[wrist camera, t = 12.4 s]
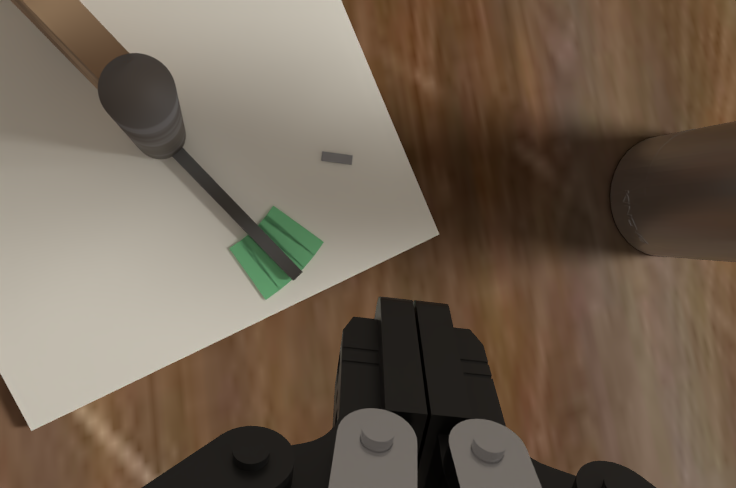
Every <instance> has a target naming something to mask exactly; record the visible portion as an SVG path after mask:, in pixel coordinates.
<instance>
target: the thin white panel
mask: <svg viewBox="0 0 736 488" xmlns="http://www.w3.org/2000/svg"><path fill="white" fill-rule="evenodd" d="M79 1H80V2H81V3H82V4H83V5H84V6H85V7H86V8H87V9H88V10H89V11H90V12H91V13H92V14H93V15H94V16H95V18H96V19H97V20H98V21H99V22H100V23H101V24H102V25H103V26H104V27H105V28H106V29H107V30H108V31H109V32H110V33H111V34H112V35H113V36H114V37H115V39H116V40H117V41H118V42H119V43H120V44H121V45H122V46H123V47H124V48H125V49H126V50H127V51H128V52H129V53H141V54H146V55H149V56H151V57H154V58H155V59H157V60H159V61H160V62H161V63H163V64H164V65H165V66H166V67H167V69H168V70H169V71H170V73H171V74H172V77H173V79H174V82H175V85H176V90H177V94H178V99H179V104H180V108H181V113H182V117H183V122H184V127H185V132H186V139H185V143H184V146H183V148H184V149H185V151H186V152H187V153H188V154H189V155H190V156H191V157H192V158H193V159H194V160H195V161H196V162H197V163H198V164H199V165H200V166H201V167H202V168H203V169H204V170H205V171H206V172H207V173H208V174H209V175H210V176H211V177H212V178H213V180H214V181H215V182H216V183H217V184H218V185H219V186H220V187H221V188H222V189H223V190H224V191H225V192H226V193H227V194H228V195H229V196H230V197H231V198H232V199H233V200H234V201H235V202H236V203H237V204H238V205H239V206H240V208H241V209H242V210H243V211H244V212H245V213H246V214H247V215H248V216H249V217H250V218H251V219H252V220H253V221H254V222H255V223H256V224H257V225H258V226H259V227H260V228H261V229H262V230H263V231H264V232H265V233H266V234H267V235H268V237H269V238H270V239H271V240H272V241H273V242H274V243H275V244H276V245H277V246H278V247H279V248H280V249H281V250H282V251H283V252H284V253H285V254H286V255H287V256H288V257H289V258H290V259H291V260H292V261H293V262H294V263H295V264H296V266H297V267H298V268H299V269H300V270H301V271H302V273H301V274H300V275H299V276H298V277H297V278H296V279H295V280H294V281H293V280H292V279H291V278H290V277H289V276H288V275H287V274H286V273H285V272H284V271H283V270H282V269H281V268H280V267H279V266H278V265H277V264H276V263H275V262H274V261H273V260H272V259H271V258H270V256H269V255H268V254H267V253H266V252H265V251H264V250H263V249H262V248H261V247H260V246H259V245H258V244H257V243H256V242H255V241H254V240H253V239H252V238H251V237H250V236H249V235H248V234H247V233H246V232H245V231H244V230H243V229H242V228H241V227H240V226H239V225H238V224H237V223H236V222H235V221H234V219H233V218H232V217H231V216H230V215H229V214H228V213H227V212H226V211H225V210H224V209H223V208H222V207H221V206H220V205H219V204H218V203H217V202H216V201H215V200H214V199H213V198H212V197H211V196H210V195H209V194H208V193H207V192H206V191H205V190H204V189H203V188H202V187H201V186H200V185H199V184H198V182H197V181H196V180H195V179H194V178H193V177H192V176H191V175H190V174H189V173H188V172H187V171H186V170H185V169H184V168H183V167H182V166H181V165H180V164H179V163H178V162H177V161H176V160H175V159H174V158H173V157H170V158H167V159H154V158H151V157H149V156H147V155H145V154H144V153H143V152H142V151H141V150H140V149H139V148H138V147H137V146H136V145H135V144H134V143H133V141H132V140H131V139H130V138H129V137H128V136H127V135H126V133H125V132H124V131H123V130H122V129H121V128H120V127H119V126H118V124H117V123H116V122H115V121H114V120H113V119H112V118H111V117H110V115H109V114H108V113H107V112H106V111H105V109H104V108H103V106H102V104H101V102H100V99H99V95H98V90H97V89H96V88H95V86H94V85H93V84H92V83H91V82H90V81H89V80H88V79H87V78H86V77H85V76H84V75H83V74H82V73H81V72H80V71H79V70H78V69H77V68H76V67H75V66H74V65H73V64H72V63H71V62H70V61H69V60H68V59H67V58H66V57H65V56H64V55H63V54H62V53H61V52H60V51H59V50H58V49H57V48H56V47H55V46H54V45H53V43H52V42H51V41H50V40H49V39H48V38H47V37H46V36H45V35H44V34H43V33H42V32H41V31H40V30H39V29H38V28H37V27H36V26H35V25H34V24H33V23H32V22H31V21H30V20H29V19H28V18H27V17H26V16H25V15H24V14H23V13H22V12H21V11H20V10H19V9H18V8H17V7H16V6H15V5H14V4H13V3H12V2H11V0H0V374H1V375H2V377H3V379H4V381H5V383H6V385H7V387H8V388H9V390H10V392H11V394H12V396H13V398H14V400H15V401H16V403H17V405H18V407H19V409H20V411H21V413H22V415H23V416H24V418H25V420H26V422H27V424H28V426H29V428H30V429H31V431H32V430H34V429H36V428H39V427H41V426H43V425H45V424H47V423H49V422H51V421H53V420H55V419H57V418H59V417H61V416H63V415H66V414H68V413H70V412H72V411H74V410H76V409H78V408H80V407H82V406H84V405H86V404H88V403H90V402H93V401H95V400H97V399H99V398H101V397H103V396H105V395H107V394H109V393H111V392H113V391H115V390H117V389H120V388H122V387H124V386H126V385H128V384H130V383H132V382H134V381H136V380H138V379H140V378H142V377H144V376H147V375H149V374H151V373H153V372H155V371H157V370H159V369H161V368H163V367H165V366H167V365H169V364H171V363H174V362H176V361H178V360H180V359H182V358H184V357H186V356H188V355H190V354H192V353H194V352H196V351H198V350H200V349H203V348H205V347H207V346H209V345H211V344H213V343H215V342H217V341H219V340H221V339H223V338H225V337H227V336H230V335H232V334H234V333H236V332H238V331H240V330H242V329H244V328H246V327H248V326H250V325H252V324H254V323H257V322H259V321H261V320H263V319H265V318H267V317H269V316H271V315H273V314H275V313H277V312H279V311H281V310H284V309H286V308H288V307H290V306H292V305H294V304H296V303H298V302H300V301H302V300H304V299H306V298H308V297H311V296H313V295H315V294H317V293H319V292H321V291H323V290H325V289H327V288H329V287H331V286H333V285H335V284H338V283H340V282H342V281H344V280H346V279H348V278H350V277H352V276H354V275H356V274H358V273H360V272H362V271H365V270H367V269H369V268H371V267H373V266H375V265H377V264H379V263H381V262H383V261H385V260H387V259H389V258H392V257H394V256H396V255H398V254H400V253H402V252H404V251H406V250H408V249H410V248H412V247H414V246H416V245H419V244H421V243H423V242H425V241H427V240H429V239H431V238H433V237H435V236H437V235H439V232H438V230H437V227H436V225H435V223H434V220H433V218H432V216H431V213H430V211H429V208H428V206H427V204H426V201H425V199H424V197H423V194H422V192H421V189H420V187H419V185H418V182H417V180H416V178H415V175H414V173H413V170H412V168H411V166H410V163H409V161H408V158H407V156H406V154H405V151H404V149H403V147H402V144H401V142H400V139H399V137H398V135H397V132H396V130H395V128H394V125H393V123H392V120H391V118H390V116H389V113H388V111H387V109H386V106H385V104H384V101H383V99H382V97H381V94H380V92H379V90H378V87H377V85H376V82H375V80H374V78H373V75H372V73H371V70H370V68H369V66H368V63H367V61H366V59H365V56H364V54H363V51H362V49H361V47H360V44H359V42H358V40H357V37H356V35H355V32H354V30H353V28H352V25H351V23H350V21H349V18H348V16H347V13H346V11H345V9H344V6H343V4H342V2H341V0H79Z"/></svg>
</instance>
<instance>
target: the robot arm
mask: <svg viewBox="0 0 736 488" xmlns="http://www.w3.org/2000/svg"><path fill="white" fill-rule="evenodd" d="M610 200H611V210H612V214H613V217H614V221H615V223H616V225H617V227H618V229H619V231H620V233H621V234H622V235H623V237H624V238H625V239H626V240H627V242H629V243H630V244H631V245H632V246H633V247H635V248H636V249H638V250H640V251H642V252H644V253H646V254H649V255H654V256H661V257H675V258H689V259H700V260H714V261H728V262H736V121H734V122H729V123H724V124H718V125H713V126H708V127H703V128H698V129H691V130H686V131H681V132H677V133H672V134H667V135H662V136H657V137H652V138H647V139H645V140H643V141H641V142H639V143H637V144H636V145H635V146H633V147H632V148H631V149H630V150H628V152H627V153H626V154H625V155H624V156H623V158H622V159H621V160H620V162H619V164H618V166H617V168H616V170H615V173H614V176H613V180H612V183H611V192H610ZM491 376H492V375H491V372H490V368H489V365H488V361H487V357H486V354H485V350H484V346H483V344H482V343H481V342H480V341H479V340H478V339H477V337H476V336H475V335H474V334H473V333H472V332H471V330H470V329H461V328H453V324H452V319H451V314H450V310H449V306H448V304H442V303H433V302H424V301H416V300H415V301H414V302H413V301H412V300H406V299H397V298H388V297H379V298H378V302H377V307H376V313H375V319H369V318H360V317H353V318H352V319H351V321H350V322H349V323H348V324H347V326H346V327H345V328H344V329H343V334H342V341H341V348H340V355H339V362H338V368H337V375H336V382H335V395H334V413H333V428H332V429H331V430H330V432H328V433H327V434H326V435H324V436H323V437H321V438H319V439H317V440H314V441H311V442H307V443H302V444H297V445H290V443H289V442H288V441H287V439H285V438H284V437H283V436H282V435H281V434H279V433H277V432H276V431H273V430H271V429H268V428H264V427H258V426H245V427H239V428H235V429H232V430H229V431H227V432H225V433H224V434H222V435H220V436H219V437H217V438H216V439H214V440H213V441H211V442H210V443H208V444H207V445H205V446H204V447H202V448H201V449H199V450H198V451H196V452H195V453H193V454H192V455H190V456H189V457H187V458H186V459H184V460H183V461H181V462H180V463H178V464H177V465H175V466H174V467H172V468H171V469H169V470H168V471H166V472H165V473H163V474H162V475H160V476H159V477H157V478H156V479H154V480H153V481H151V482H150V483H148V484H147V485H145V486H144V487H142V488H656V487H655V486H653V485H652V484H651V483H649V482H648V481H647V480H645V479H644V478H643V477H641V476H640V475H638V474H637V473H635V472H634V471H632V470H630V469H629V468H627V467H624V466H622V465H619V464H616V463H613V462H607V461H593V462H590V463H587V464H585V465H583V466H582V467H581V468H580V470H579V471H578V473H577V476H574V475H571V474H569V473H566V472H563V471H560V470H557V469H554V468H552V467H549V466H546V465H544V464H541V463H539V462H537V461H536V460H534V459H532V458H531V457H530V456H529V454H528V451H527V449H526V447H525V445H524V443H523V442H522V440H521V439H520V438H519V437H518V436H517V435H516V434H515V433H514V432H513V431H511V430H510V429H508V428H507V427H506V426H505V422H504V418H503V415H502V411H501V408H500V404H499V400H498V397H497V393H496V390H495V386H494V382H493V379H491Z"/></svg>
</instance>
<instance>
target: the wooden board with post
mask: <svg viewBox="0 0 736 488" xmlns="http://www.w3.org/2000/svg"><path fill="white" fill-rule="evenodd" d="M11 2H12V3H13V4H14V5H15V6H16V7H17V8H18V9H19V10H20V11H21V12H22V13H23V14H24V15H25V16H26V17H27V18H28V19H29V20H30V21H31V22H32V23H33V24H34V25H35V26H36V27H37V28H38V29H39V30H40V31H41V32H42V33H43V34H44V35H45V36H46V37H47V38H48V39H49V40H50V41H51V42H52V43H53V45H54V46H55V47H56V48H57V49H58V50H59V51H60V52H61V53H62V54H63V55H64V56H65V57H66V58H67V59H68V60H69V61H70V62H71V63H72V64H73V65H74V66H75V67H76V68H77V69H78V70H79V71H80V72H81V73H82V74H83V75H84V76H85V77H86V78H87V79H88V80H89V81H90V82H91V83H92V84H93V85H94V86H95V88H96V89H97V90H98V95H99V99H100V102H101V104H102V106H103V108H104V109H105V111H106V112H107V113H108V114H109V115H110V117H111V118H112V119H113V120H114V121H115V122H116V123H117V124H118V126H119V127H120V128H121V129H122V130H123V131H124V132H125V133H126V135H127V136H128V137H129V138H130V139H131V140H132V141H133V143H134V144H135V145H136V146H137V147H138V148H139V149H140V150H141V151H142V152H143V153H144V154H145V155H147V156H149V157H151V158H154V159H167V158H170V157H173V158H174V159H175V160H176V161H177V162H178V163H179V164H180V165H181V166H182V167H183V168H184V169H185V170H186V171H187V172H188V173H189V174H190V175H191V176H192V177H193V178H194V179H195V180H196V181H197V182H198V184H199V185H200V186H201V187H202V188H203V189H204V190H205V191H206V192H207V193H208V194H209V195H210V196H211V197H212V198H213V199H214V200H215V201H216V202H217V203H218V204H219V205H220V206H221V207H222V208H223V209H224V210H225V211H226V212H227V213H228V214H229V215H230V216H231V217H232V218H233V219H234V221H235V222H236V223H237V224H238V225H239V226H240V227H241V228H242V229H243V230H244V231H245V232H246V233H247V234H248V235H249V236H250V237H251V238H252V239H253V240H254V241H255V242H256V243H257V244H258V245H259V246H260V247H261V248H262V249H263V250H264V251H265V252H266V253H267V254H268V255H269V256H270V258H271V259H272V260H273V261H274V262H275V263H276V264H277V265H278V266H279V267H280V268H281V269H282V270H283V271H284V272H285V273H286V274H287V275H288V276H289V277H290V278H291V279H292V280H293V281H294V280H295V279H296V278H297V277H298V276H299V275H300V274H301V273H302V271H301V270H300V269H299V268H298V267H297V266H296V264H295V263H294V262H293V261H292V260H291V259H290V258H289V257H288V256H287V255H286V254H285V253H284V252H283V251H282V250H281V249H280V248H279V247H278V246H277V245H276V244H275V243H274V242H273V241H272V240H271V239H270V238H269V237H268V235H267V234H266V233H265V232H264V231H263V230H262V229H261V228H260V227H259V226H258V225H257V224H256V223H255V222H254V221H253V220H252V219H251V218H250V217H249V216H248V215H247V214H246V213H245V212H244V211H243V210H242V209H241V208H240V206H239V205H238V204H237V203H236V202H235V201H234V200H233V199H232V198H231V197H230V196H229V195H228V194H227V193H226V192H225V191H224V190H223V189H222V188H221V187H220V186H219V185H218V184H217V183H216V182H215V181H214V180H213V178H212V177H211V176H210V175H209V174H208V173H207V172H206V171H205V170H204V169H203V168H202V167H201V166H200V165H199V164H198V163H197V162H196V161H195V160H194V159H193V158H192V157H191V156H190V155H189V154H188V153H187V152H186V151H185V149H184V148H183V146H184V143H185V139H186V132H185V127H184V122H183V117H182V113H181V108H180V104H179V99H178V94H177V90H176V85H175V82H174V79H173V77H172V74H171V73H170V71H169V70H168V69H167V67H166V66H165V65H164V64H163V63H161V62H160V61H159V60H157V59H155V58H154V57H151V56H149V55H146V54H141V53H129V52H128V51H127V50H126V49H125V48H124V47H123V46H122V45H121V44H120V43H119V42H118V41H117V40H116V39H115V37H114V36H113V35H112V34H111V33H110V32H109V31H108V30H107V29H106V28H105V27H104V26H103V25H102V24H101V23H100V22H99V21H98V20H97V19H96V18H95V16H94V15H93V14H92V13H91V12H90V11H89V10H88V9H87V8H86V7H85V6H84V5H83V4H82V3H81V2H80V1H79V0H11Z"/></svg>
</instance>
